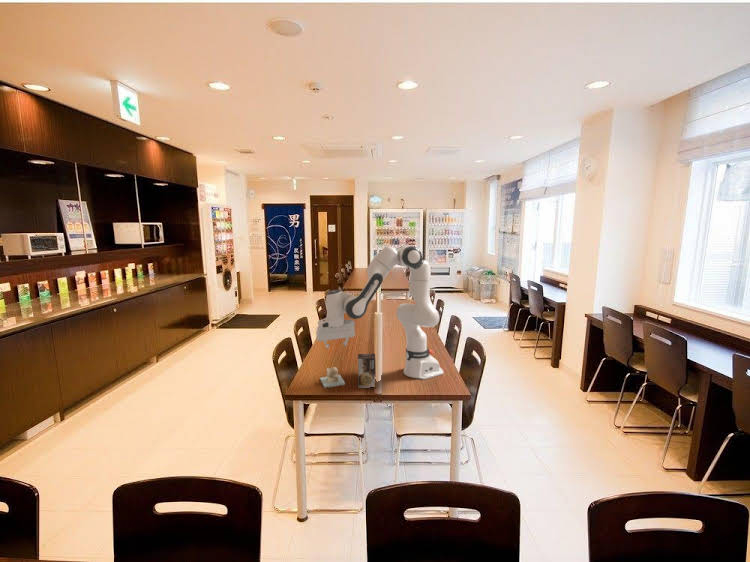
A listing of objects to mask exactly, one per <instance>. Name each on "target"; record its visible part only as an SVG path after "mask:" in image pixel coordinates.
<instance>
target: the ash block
mask: <svg viewBox="0 0 750 562" xmlns="http://www.w3.org/2000/svg"><path fill="white" fill-rule="evenodd" d="M338 375H339V369H338V368H337V367H336V366H334V367H327V368H326V377H327V380H328V382H329V383H331V382H338Z"/></svg>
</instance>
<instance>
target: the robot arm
mask: <svg viewBox="0 0 750 562" xmlns="http://www.w3.org/2000/svg"><path fill="white" fill-rule="evenodd" d="M396 265H398V266H400V267H404V268H408V269H409V273H410V274H409V286H408V293H409V296H410V297H411V298H412V299H414V301H415V302H414V303H415V304H414V303H401V304H400V305H399V306H398V307H397V308H396V317H397V319H398V320H399V322H400V323H401V324H402V326H403V328H404V330H405V331H404V332H405V335H406V348H405V365H404V369H403V374H404V375H405V376H407V377H409V378H412V379H419V380H427V379H431V378H435V377H438V376H442V375H444V374H445V373H444V369H442V367H440V363H439V361H438V359H436V358H434V357H433V356H432V354H433V353H434V351H433V350H432V349H429V348H427V346H428V338H427V334H426V333H425V332H424V330H423V329H422V328H421V327H424V328H434V327H436V326H437V325H438V324H439V322H440V314H439V313H440V312H439V311H438V310H437V309H436V308H435V306H434V305H433V303H432V300H431V297H430V293H431V291H430V289H431V286H430V285H431V266H430V263H429V262H428V261H427V260H425V259H424V257H423V254H422V251H421V250H420V249H419V248H418V247H416V246H413V245H412V246H411V245H405V246H399V247H398V248H395V247H393V246H389V245H388V246H384V247H383V248H382V249H381V250H380V251H379V252H377V254H376V255H375V256H374V258H372V260H371V261H370V263H369V264H368V266H367V268H366V272H367V273H366V274H367V282H366V284H365V285H364V287H363V288H362V289H361V291H360V293H359V294H358V295H357V296H356V295H355V294H351V293H347V292H344V291H343V290H341V289H333V290H330V291H328V292H327V294H326V297H325V309H326V317H325V318H323V319H320V320H318V321H317V327H316V333H315V335H316V336H315V339H316V341H318V342H323V343H324V345H325V348H326V349H330V344H329V343H327V342H328V341H333V340H339V339H345V340H344V341H343V342H342V343H343V346H344V347H347V346H348V342H349V340H350V338H354V337H355V336H356V330H355V326H356V322H355V320H358V319H361V318H363V317H364V316H365V315H366V312H367V310H368V306H369V304H370V303H371V300H372V299H373V298H374V296H375V294H376V293H377V292H378V290H379V288H380V287H381V285H382V283H383V282H384V280H385V279H386V278H387V276H388V275H389V273H390V272H391V271H392V270H393V268H394V267H395V266H396ZM344 314H347V317H349V318H350V319H345V318H344V317H345V315H344ZM353 319H354V320H353Z"/></svg>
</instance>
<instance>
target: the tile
mask: <svg viewBox="0 0 750 562" xmlns="http://www.w3.org/2000/svg"><path fill="white" fill-rule="evenodd" d="M319 381H320V382H321V384H322V386H323V388H324V389H326V388H327V387H328V388H333V387H338V386H340V385H341V386H346V382H345V380H344V378H342V376H341V374H338V382H331V383H329V382H328V380H327V376H324V377H319Z"/></svg>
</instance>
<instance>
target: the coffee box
mask: <svg viewBox="0 0 750 562" xmlns="http://www.w3.org/2000/svg"><path fill="white" fill-rule="evenodd" d="M376 367H377V366H376V353H358V354H357V368H358V369H357V372H358V373H357V375H358V376H357V377H358V378H357V379H358V389H367V388H368V389H371V388H370V387H374V385H375V377H377V375H376V374H377V373H376V370H377V369H376Z"/></svg>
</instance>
